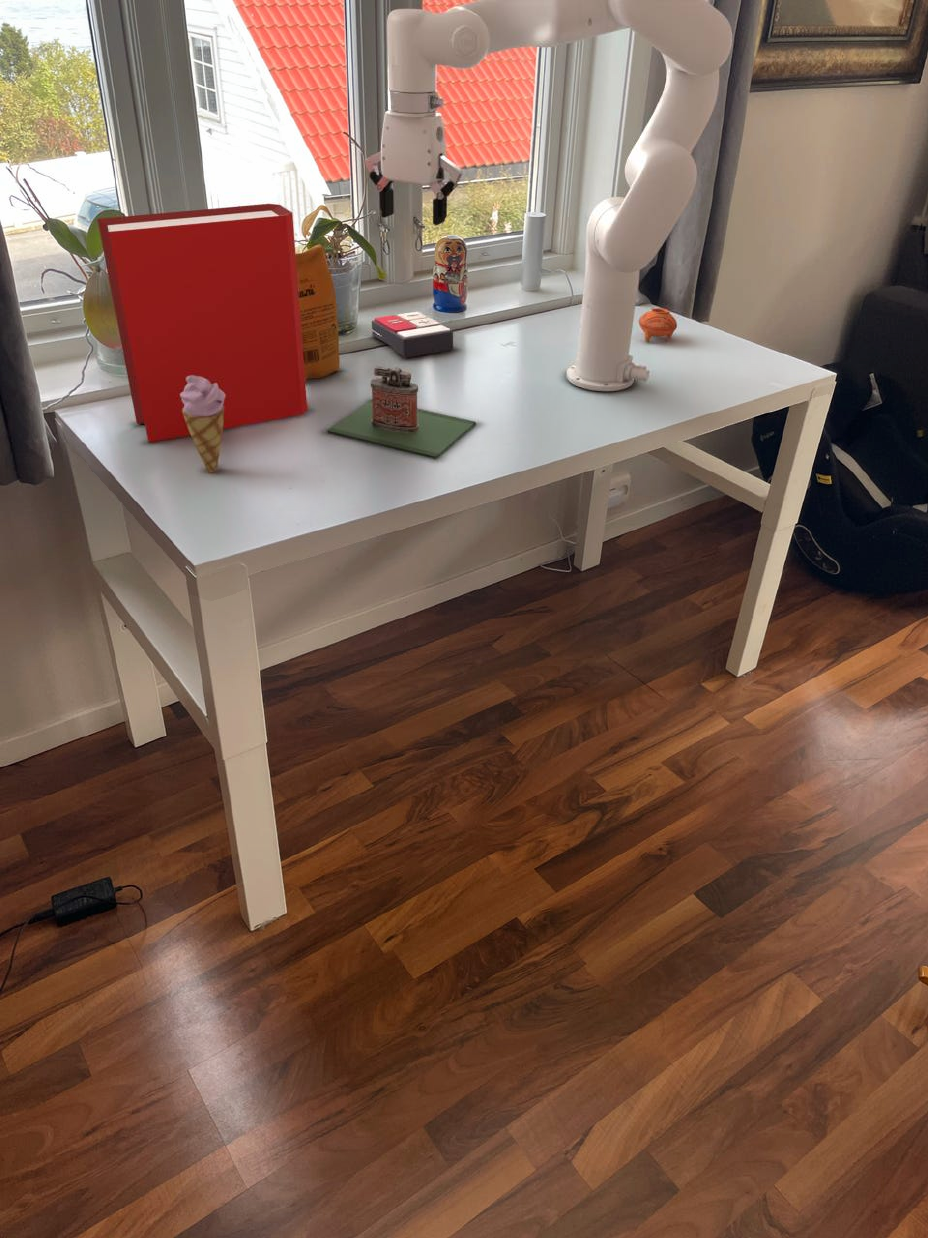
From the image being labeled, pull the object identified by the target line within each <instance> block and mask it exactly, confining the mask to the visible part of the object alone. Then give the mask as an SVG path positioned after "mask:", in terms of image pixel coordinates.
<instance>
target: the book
mask: <svg viewBox="0 0 928 1238" xmlns="http://www.w3.org/2000/svg"><path fill="white" fill-rule="evenodd" d="M293 215H294V214H293V212H292V211H291V210H289V209H288V208H286V207H284V205H281V204H276V203H262V204H252V205H251V204H250V205H249V204H248V205H239V206H227V207H216V208H205V209H194V210H193V209H192V210H182V211H181V210H180V211H169V212H160V213H149V214H146V213H145V214H137V215H136V214H135V215H125V216H114V217H112V216H111V217H102V218H97V225H98V229H99V236H100V240H101V245H102V252H103V256H104V261H105V266H106V271H107V277H108V282H109V287H110V292H111V298H112V302H113V308H114V312H115V313H114V314H115V318H116V323H117V328H118V334H119V339H120V345H121V349H122V355H123V360H124V365H125V369H126V370H125V371H126V375H127V380H128V385H129V392H130V395H131V401H132V406H133V412H134V417H135V421H136V424H137V425H139V424H144V428H145V432H146V433H145V434H146V438H147V443H148V444H150V443H155V442H161V441H166V440H171V439H178V438H182V437H188V436H191V434H190V432H189V429H188V426H187V424H186V421H185V418H184V415H183V412H182V409H183V407H184V403H183V402H182V399H181V397H180V393H182V392H183V391H184V388H185V386H186V385H187V384H188V382H187V381H186V378H187V377H188V376H192V375H194V376H198V377H203V378H205V379H207V380H208V381H209V382H210V384H215V383H217V384H218V387H219V389H220V390H222V391H223V392H224V393H225V395H226V397H225V399H224V403H223V405H224V420H223V430H227V429H231V428H237V427H242V426H248V425H253V424H259V423H264V422H270V421H275V420H281V419H285V418H291V417H296V416H297V417H298V416H302V415H304V414H305V413H306V412H308V399H307V397H308V396H307V385H306V379H305V370H304V357H303V344H302V331H301V318H300V305H299V292H298V279H297V266H296V253H297V252H296V241H295V229H294V216H293Z"/></svg>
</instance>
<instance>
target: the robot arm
mask: <svg viewBox="0 0 928 1238" xmlns="http://www.w3.org/2000/svg"><path fill="white" fill-rule="evenodd" d="M626 29H630V30H632V31H633V32H634V33H635V34H636V35H638V36H639V37H640V38H642V39H643V40H644V41H645V42H647V43H648V44H649V45H651V46H652V47H653V48H654V49H655V50H657V51H659V52H660V53H661V55H662V58H663V60H664V63H665V70H666V78H665V79H666V80H665V84H664V88H663V91H662V95H661V96H660V99H659V101H658V103H657V104H656V107H655V109H654V111H653V113H652V115H651V117H650V118H649V120H648V122H647V123H646V125H645V127H644V129H643V131H642V132H641V134H640V136H639V137H638V139H637V142H636V143H635V145H634V146H633V148H632V150H631V151H630V154H629V155H628V157H627V159H626V162H625V166H624V177H625V180H626V183H627V185H628V187H629V190H628V192H627V194H626V196H625V197H623V196H611V197H608V198H605V199H604V200H602V201H601V202H599V203H598V204H597V205H596V206H595V207H594V209H592V212H591V214H590V216H589V218H588V220H587V224H586V231H585V267H584V281H583V292H582V299H581V300H582V301H581V310H580V319H579V331H578V341H577V351H576V360H575V363H574V364H572V365H571V366H569V367H568V368H567V369H566V379H567V380H568V381H569V382H570V383H571V384H572V385H574V386H576V387H578V388H581V389H584V390H589V391H594V392H616V391H617V392H618V391H622V390H625V389H627V388H629V387H631V386H633V384H634V381H635V380H638V381H643V382H644V381H645V382H647V381H648V380H649V376H650V370H648V369H647V366H646V365H639V364H635V362H633V360H634V356H633V355H630V351H631V350H630V349H631V341H632V334H633V328H634V327H633V326H634V320H635V319H634V318H635V313H636V312H635V311H636V310H635V309H636V303H637V297H638V291H639V281H640V270H643V269H644V268H645V267H646V266H647V265H649V264H650V263H651V262H652V261H653V260H654V258H655V257H656V256H657V254H658V253H659V251H660V250H661V248H662V247H663V245H664V243H665V242H666V240H667V238H668V237H669V235H670V233H671V232H672V230H673V228H674V227H675V225H676V224H677V222H678V220H679V219H680V217H681V216H682V214H683V212H684V211H685V209H686V207H687V205H688V204H689V201H690V200H691V198H692V196H693V194H694V191H695V187H696V183H697V176H698V171H697V165H696V162H695V159H694V157H693V156H692V152H693V150H694V149H695V147H696V145H697V143H698V142H699V140H700V138H701V135H702V133H703V131H704V130H705V129H706V126H707V125H708V122H709V120H710V118H711V117H712V114H713V111H714V109H715V107H716V103H717V99H718V96H719V90H720V68H721V67H722V66H723V65H724V63H725V62H726V61H727V59H728V58H729V56H730V53H731V50H732V47H733V30H732V26H731V25H730V22H729V20H728V19H727V17H726V16H725V15H724V14H723V13H722V12H721V11H720V10H719V9H717V8H716V7H715V6H713V5H712V4H711V3H709V2H708V1H707V0H475V1H470V2H466V3H464V4H459V5H456V6H452V7H450V8H448V9H447V10H445V11H444V12H435V13H434V12H432V11H430V10H427V9H422V8H397V9H393V10H391V11H390V12H389V14H388V15H387V17H386V47H387V49H386V50H387V51H386V52H387V97H388V99H387V100H388V101H387V102H388V103H387V104H388V105H387V106H388V108H387V109H388V110H387V111H385V113H384V116H383V122H382V123H383V124H382V131H381V142H380V143H381V144H380V151H378V152H377V153H375V154H372V155H371V156H369V157H368V158H366V159H364V165H365V167H366V169H367V172H368V173H369V178H370V180H371V181H372V182H373V184H374V185H375V188H376V190H377V191H378V192H379V210H380V216H381V218H385V219H386V218H388V217H390V216H393V215H394V213H395V200H394V199H395V197H394V196H395V195H394V194H395V191H394V189H393V188H391V187H392V185H393V184H394V183H395V182H398V183H405V184H414V185H422V186H429V187H430V190H431V191H432V193H433V194H434V195H435V198H434V199H432V224H433V225H434V226H439V225H441V224H443V223H445V221H446V218H447V216H448V197H450V195H451V194H452V192H453V191H454V190H455V189H456V188H457V187H458V183H459V181H460V179H461V177H462V176H463V170H462V168H460V167H459V166H458V165H456V164H455V163H454V162H453V161H451V160H450V159H448V158H447V144H446V134H445V128H444V127H445V126H444V120H443V117H442V113H437V111H438V109H439V108H443V107H444V105H445V99H444V98H443V97H439V96H438V94H439V93H438V91H437V79H438V78H437V66H443V67H449V68H453V69H460V70H468V69H472V68H474V67H477V66H478V65H479V64H480V63H481V62H482V61H483V60H484V59H485V57H486V56H487V55H490V54H495V53H498V52H502V51H507V50H512V49H519V48H531V47H532V48H553V47H559V46H560V47H561V46H564V45H567V44H568V45H569V44H571V43H576V42H579V41H582V40H586V39H590V38H595V37H598V36H602V35H606V34H610V33H614V32H618V31H621V30H626ZM378 163H380V170H379V169H378ZM447 173H448V174H449V177H448V178H449V179H448V181H447V182H445V179H446V177H447Z"/></svg>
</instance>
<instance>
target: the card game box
mask: <svg viewBox="0 0 928 1238" xmlns="http://www.w3.org/2000/svg"><path fill="white" fill-rule="evenodd" d="M372 329H373V330H374V331H376V332H377V333H379V334H380V335H382V337H380V336H379V335H377V334H376V333H375V332H373V331H372ZM371 333H372V334H371V335H372V336H373V337H375V338H376V339H378V340H380V341H382V342H383V343H385V344H386V345H388V346H390V347H392V348H393V349H394V351H395V352H396V353H397V354H398V355H400V356H402V357H403V358H411V357H418V356H423V355H429V354H434V353H440V352H445V351H451V350H454V331H453V330H451V329H450V328H449V327H446V326H445V325H443V324H441V323H440V322H439V321H437V320H435V319H433V318H431V317H428V316H427V315H425V314H423V313H421V312H420V311H411V312H405V313H398V314H397V315H395V314H393V315H387V316H379V317H375V318H374V319H373V320H372V321H371Z"/></svg>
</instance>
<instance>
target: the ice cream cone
mask: <svg viewBox="0 0 928 1238" xmlns="http://www.w3.org/2000/svg"><path fill="white" fill-rule="evenodd" d="M186 381H187V382H188V384H187V385H186V386H185V388H184V391H183V392H182V393H180V397H181V399H182V402H183V403H184V407H183V409H182V412H183V415H184V418H185V421H186V424H187V426H188V429H189V432H190V434H191V435H190V436H191V439H192V441H193V443H194V446H195V448H196V450H197V452H198V455H199V456H200V459H201V461H202V463H203V465H204V467H205V469H206V471H207V473H209V474H214V473H215V474H216V472H218V465H219V459H220V453H221V447H222V439H223V431H224V429H223V420H224V405H223V403H224V399H225V397H226V395H225V393H224V392H223V391H222V390H220V389H219V387H218V384H217V383H215V384H210V382H209V381H208V380H207V379H205V378H203V377H198V376H194V375H192V376H188V377H187V378H186Z"/></svg>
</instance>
